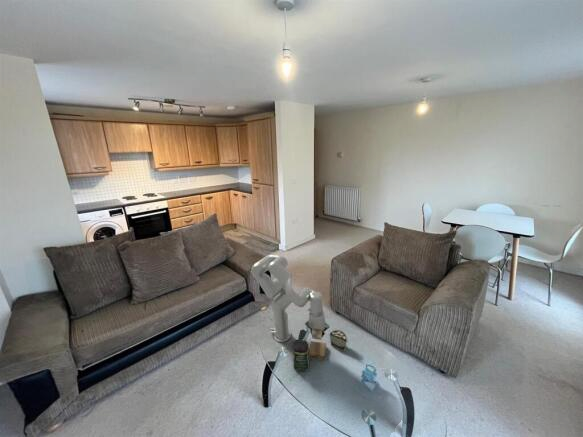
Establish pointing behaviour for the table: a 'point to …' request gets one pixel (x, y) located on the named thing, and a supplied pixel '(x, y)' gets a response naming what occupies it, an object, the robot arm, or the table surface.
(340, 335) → the food container
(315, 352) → the pedestal
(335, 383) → the table surface
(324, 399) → the table surface
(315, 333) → the beech cube
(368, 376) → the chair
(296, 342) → the coffee jar
